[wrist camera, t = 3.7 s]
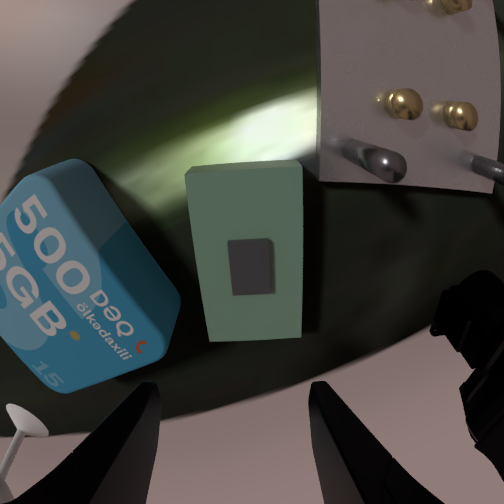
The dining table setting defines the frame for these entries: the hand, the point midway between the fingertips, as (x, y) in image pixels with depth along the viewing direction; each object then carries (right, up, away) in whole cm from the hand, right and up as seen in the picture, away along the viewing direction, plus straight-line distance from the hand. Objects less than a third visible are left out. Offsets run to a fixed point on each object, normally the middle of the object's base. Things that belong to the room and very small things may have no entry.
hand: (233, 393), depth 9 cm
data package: (-17, -1, +9) cm, 19 cm away
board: (0, +4, +10) cm, 11 cm away
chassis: (+10, +15, +5) cm, 19 cm away
